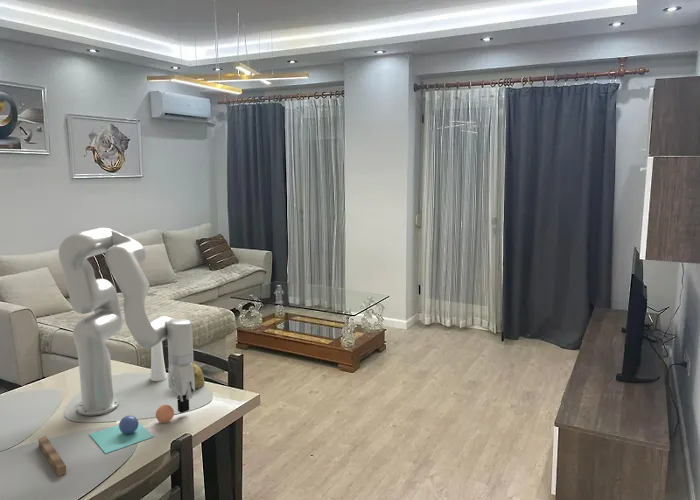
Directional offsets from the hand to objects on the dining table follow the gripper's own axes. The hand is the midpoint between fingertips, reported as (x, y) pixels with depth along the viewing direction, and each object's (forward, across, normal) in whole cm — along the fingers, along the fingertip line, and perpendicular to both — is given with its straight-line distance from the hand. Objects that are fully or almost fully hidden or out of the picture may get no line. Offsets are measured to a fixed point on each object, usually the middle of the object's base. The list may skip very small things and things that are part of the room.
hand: (183, 410), depth 176 cm
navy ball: (-1, 0, -18) cm, 18 cm away
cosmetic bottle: (+2, -34, +6) cm, 35 cm away
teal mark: (+2, 0, -20) cm, 20 cm away
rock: (+2, -20, +12) cm, 23 cm away
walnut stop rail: (+2, 0, -39) cm, 39 cm away
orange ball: (-1, 0, -6) cm, 7 cm away
